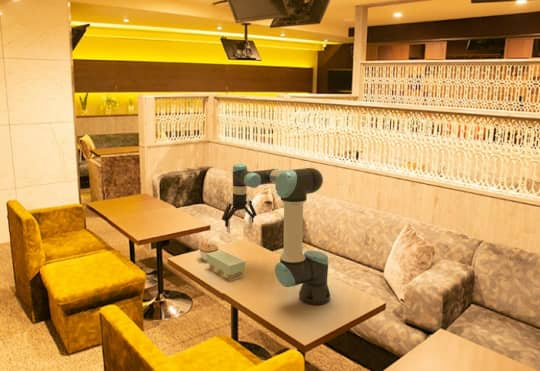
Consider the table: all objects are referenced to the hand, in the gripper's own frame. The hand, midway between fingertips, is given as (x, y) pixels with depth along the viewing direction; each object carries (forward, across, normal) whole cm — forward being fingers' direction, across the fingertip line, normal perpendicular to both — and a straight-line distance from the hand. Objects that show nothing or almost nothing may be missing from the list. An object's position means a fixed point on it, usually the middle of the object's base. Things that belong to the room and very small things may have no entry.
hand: (239, 230), depth 253 cm
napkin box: (+22, +9, +2) cm, 24 cm away
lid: (+18, +9, +2) cm, 21 cm away
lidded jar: (+23, +10, -20) cm, 32 cm away
